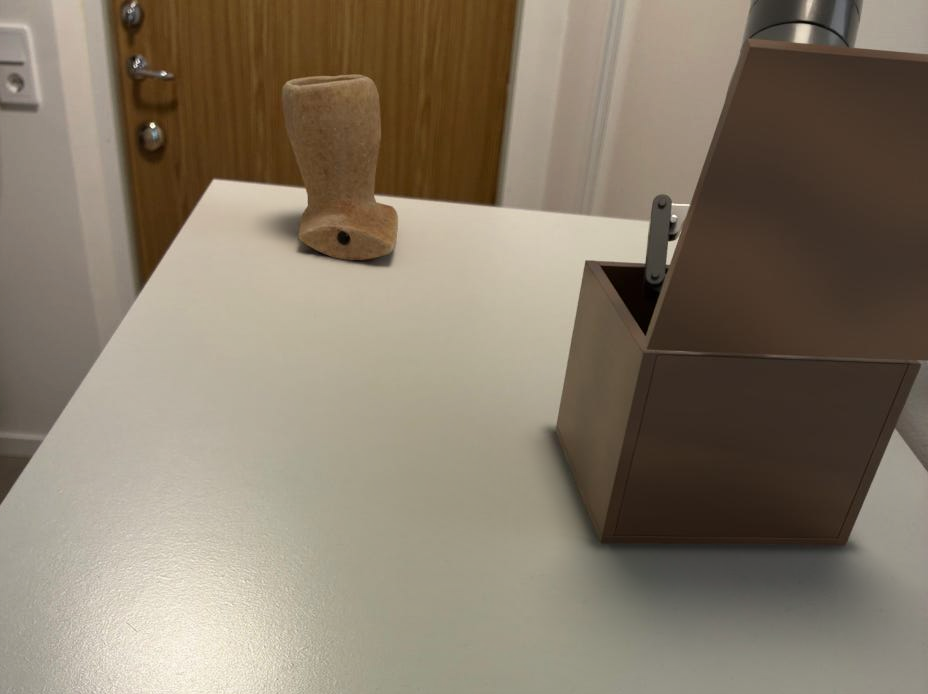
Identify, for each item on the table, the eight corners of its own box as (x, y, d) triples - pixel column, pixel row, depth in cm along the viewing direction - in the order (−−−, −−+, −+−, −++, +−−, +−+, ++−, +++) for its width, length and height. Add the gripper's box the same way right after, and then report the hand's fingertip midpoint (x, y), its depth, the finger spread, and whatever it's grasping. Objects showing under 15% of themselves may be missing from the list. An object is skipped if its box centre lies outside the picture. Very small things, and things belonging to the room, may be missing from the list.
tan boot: (293, 211, 107) (291, 54, 98) (401, 222, 108) (410, 67, 98) (270, 259, 96) (266, 85, 86) (392, 270, 96) (401, 99, 87)
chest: (554, 434, 73) (585, 259, 65) (765, 439, 75) (820, 272, 67) (599, 546, 62) (643, 353, 54) (844, 548, 64) (922, 364, 56)
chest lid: (745, 37, 41) (750, 46, 41) (1100, 68, 43) (1108, 77, 43) (643, 340, 54) (646, 350, 53) (922, 352, 56) (928, 361, 56)
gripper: (674, 72, 60) (615, 329, 59) (916, 105, 58) (861, 373, 57) (661, 146, 68) (609, 376, 66) (875, 178, 66) (826, 416, 64)
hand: (726, 373), depth 62 cm, fingers closed on pill bottle, 6 cm apart
